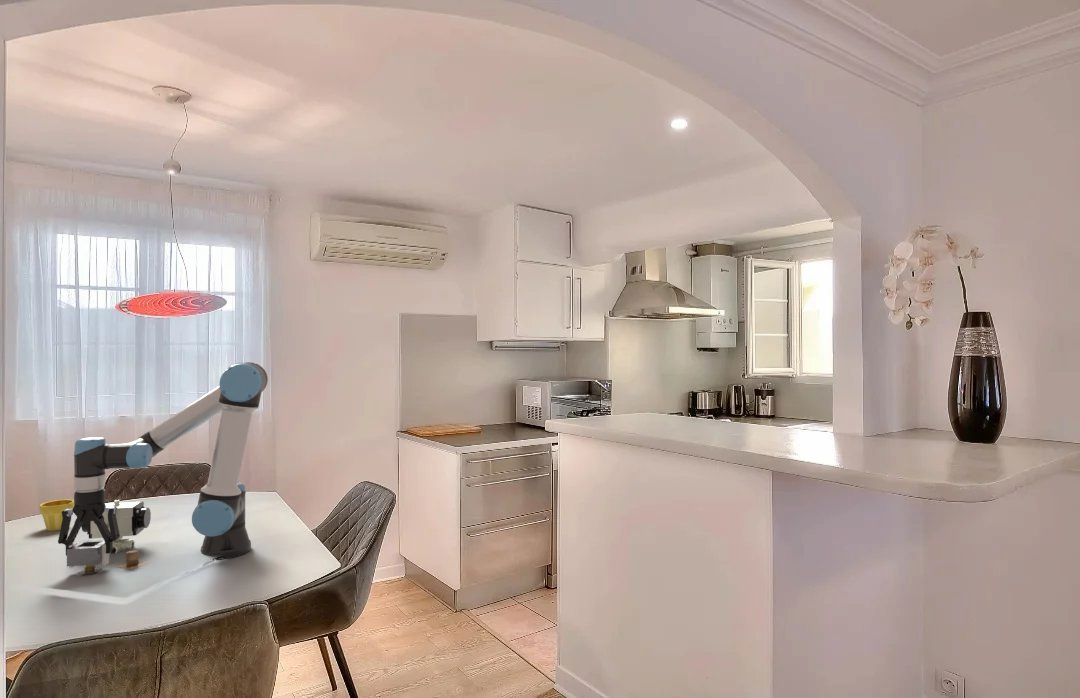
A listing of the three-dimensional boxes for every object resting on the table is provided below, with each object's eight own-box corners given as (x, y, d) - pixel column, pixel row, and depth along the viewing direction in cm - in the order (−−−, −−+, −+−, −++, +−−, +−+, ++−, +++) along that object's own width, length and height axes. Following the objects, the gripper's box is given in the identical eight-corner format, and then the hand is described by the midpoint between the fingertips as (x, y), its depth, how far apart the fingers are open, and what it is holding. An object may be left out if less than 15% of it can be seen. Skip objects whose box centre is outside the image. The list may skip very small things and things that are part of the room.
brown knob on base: (148, 567, 192) (148, 549, 192) (131, 574, 186) (131, 556, 186) (133, 565, 193) (133, 548, 193) (115, 572, 187) (115, 554, 187)
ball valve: (78, 560, 197) (78, 505, 197) (90, 552, 206) (90, 499, 205) (142, 555, 202) (142, 502, 202) (151, 547, 210) (151, 496, 210)
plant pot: (40, 534, 225) (40, 507, 225) (39, 527, 233) (39, 502, 233) (75, 528, 232) (75, 503, 232) (73, 522, 240) (73, 497, 240)
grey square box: (110, 555, 188) (110, 539, 188) (97, 564, 181) (97, 547, 180) (81, 557, 187) (81, 540, 187) (66, 566, 179) (66, 549, 179)
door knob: (108, 574, 186) (108, 545, 186) (87, 581, 180) (87, 552, 180) (91, 572, 188) (91, 543, 188) (71, 579, 181) (70, 550, 181)
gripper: (133, 485, 189) (133, 558, 189) (57, 488, 185) (56, 563, 185) (122, 490, 182) (122, 567, 182) (42, 493, 178) (42, 572, 178)
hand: (89, 565), depth 184 cm, fingers closed on grey square box, 8 cm apart
